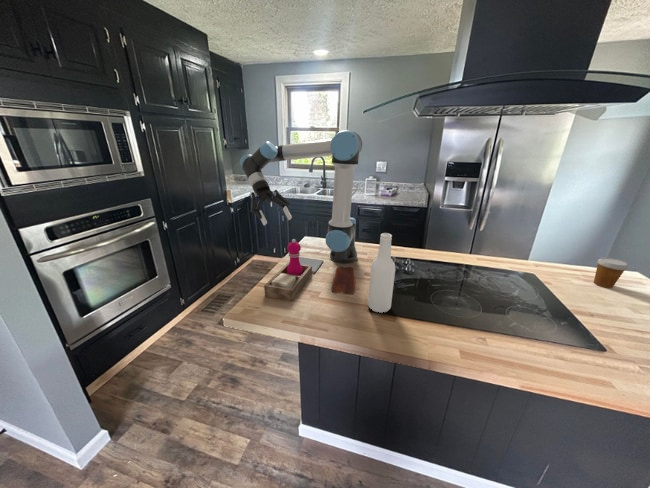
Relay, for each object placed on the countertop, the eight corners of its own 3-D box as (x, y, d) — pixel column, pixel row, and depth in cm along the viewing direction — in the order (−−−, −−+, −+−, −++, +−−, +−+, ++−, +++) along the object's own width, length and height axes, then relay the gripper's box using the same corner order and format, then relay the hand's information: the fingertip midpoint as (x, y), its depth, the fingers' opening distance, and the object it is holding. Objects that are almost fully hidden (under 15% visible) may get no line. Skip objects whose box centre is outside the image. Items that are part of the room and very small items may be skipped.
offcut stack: (298, 288, 116) (298, 275, 114) (290, 298, 108) (289, 285, 106) (280, 284, 118) (279, 273, 116) (270, 295, 110) (270, 282, 108)
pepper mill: (292, 284, 119) (290, 243, 111) (284, 278, 124) (282, 238, 117) (305, 280, 123) (305, 239, 115) (297, 274, 128) (296, 235, 121)
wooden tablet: (354, 296, 111) (354, 292, 111) (330, 294, 113) (330, 290, 112) (355, 268, 136) (355, 265, 136) (336, 267, 137) (336, 264, 137)
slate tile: (323, 261, 142) (323, 260, 141) (315, 273, 129) (315, 271, 129) (299, 258, 145) (299, 256, 145) (288, 269, 133) (288, 267, 132)
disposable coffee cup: (596, 288, 119) (607, 264, 114) (584, 278, 127) (593, 255, 123) (623, 291, 116) (635, 267, 112) (608, 281, 124) (619, 258, 120)
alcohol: (363, 305, 104) (368, 233, 93) (377, 298, 109) (384, 229, 98) (380, 316, 98) (388, 240, 87) (395, 307, 103) (404, 235, 92)
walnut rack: (311, 275, 127) (311, 265, 125) (292, 301, 106) (292, 290, 104) (288, 271, 131) (287, 262, 129) (265, 296, 109) (264, 285, 108)
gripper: (278, 186, 137) (296, 220, 132) (232, 191, 121) (251, 230, 116) (283, 177, 131) (303, 212, 127) (236, 181, 115) (256, 221, 111)
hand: (278, 221), depth 121 cm, fingers open, 13 cm apart
